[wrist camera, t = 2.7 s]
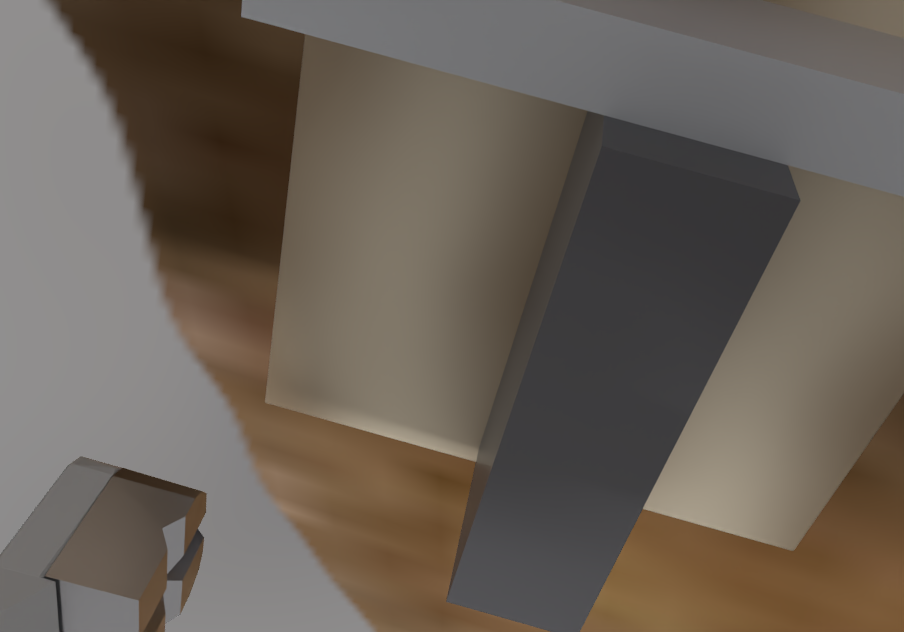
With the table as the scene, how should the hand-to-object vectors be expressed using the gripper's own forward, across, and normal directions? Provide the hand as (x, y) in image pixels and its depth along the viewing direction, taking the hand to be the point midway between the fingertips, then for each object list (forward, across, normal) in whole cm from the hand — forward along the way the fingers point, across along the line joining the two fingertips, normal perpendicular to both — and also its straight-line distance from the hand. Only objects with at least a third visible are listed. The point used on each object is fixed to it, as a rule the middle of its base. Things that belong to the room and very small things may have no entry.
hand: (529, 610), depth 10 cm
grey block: (+7, -1, -1) cm, 7 cm away
